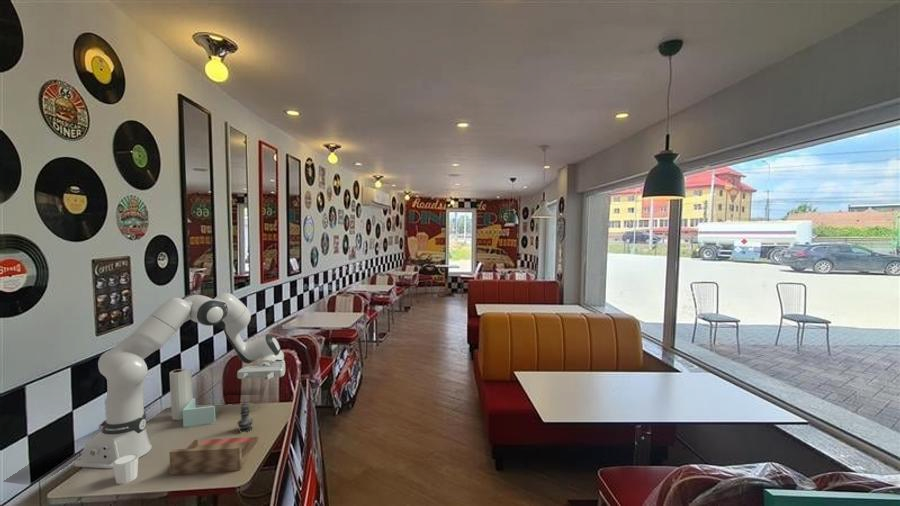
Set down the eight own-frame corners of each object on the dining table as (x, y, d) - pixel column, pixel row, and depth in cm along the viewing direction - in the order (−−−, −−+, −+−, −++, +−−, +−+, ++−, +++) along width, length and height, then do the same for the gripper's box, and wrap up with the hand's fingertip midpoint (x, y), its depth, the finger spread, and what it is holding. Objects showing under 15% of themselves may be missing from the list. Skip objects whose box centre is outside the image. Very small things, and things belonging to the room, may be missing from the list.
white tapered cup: (108, 484, 134) (106, 464, 133) (127, 471, 141) (126, 452, 140) (126, 486, 133) (124, 465, 132) (144, 473, 140) (143, 454, 139)
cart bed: (170, 474, 139) (169, 452, 139) (202, 441, 160) (201, 422, 159) (240, 470, 141) (239, 448, 141) (262, 438, 162) (261, 419, 162)
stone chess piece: (247, 433, 166) (245, 405, 165) (234, 432, 167) (233, 404, 166) (256, 426, 172) (255, 399, 171) (244, 425, 173) (243, 398, 172)
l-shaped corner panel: (214, 423, 175) (214, 406, 174) (183, 427, 171) (182, 410, 171) (222, 411, 186) (222, 395, 186) (193, 414, 183) (192, 398, 182)
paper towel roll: (168, 420, 178) (165, 372, 176) (180, 413, 184) (177, 367, 182) (182, 421, 176) (180, 373, 175) (193, 415, 182) (191, 368, 181)
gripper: (243, 361, 193) (230, 372, 179) (287, 360, 195) (278, 370, 181) (244, 374, 193) (231, 386, 179) (288, 372, 195) (279, 384, 181)
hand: (255, 378), depth 180 cm, fingers open, 8 cm apart
